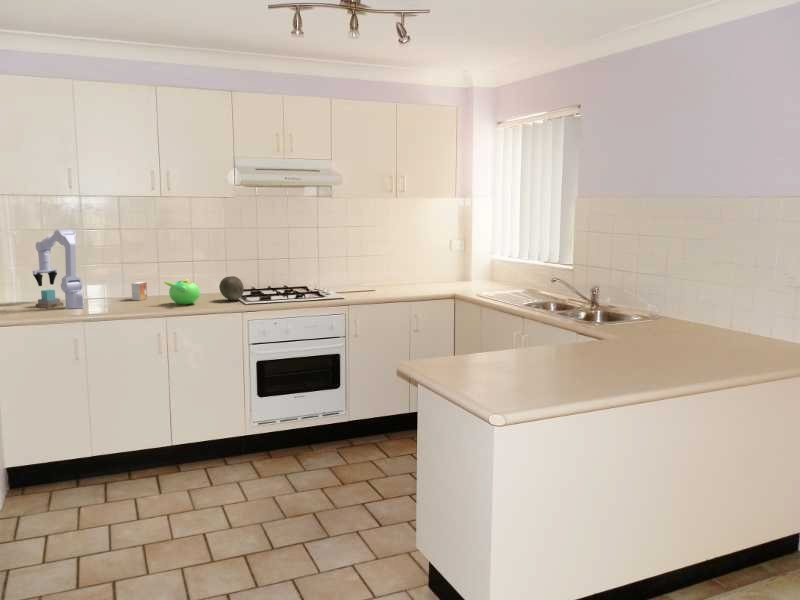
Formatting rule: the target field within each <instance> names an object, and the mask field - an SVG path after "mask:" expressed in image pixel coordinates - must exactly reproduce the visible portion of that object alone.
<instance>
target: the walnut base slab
mask: <svg viewBox="0 0 800 600" xmlns="http://www.w3.org/2000/svg"><path fill="white" fill-rule="evenodd" d="M63 306H64V302H61V301H60V303H57V304H51V305H44V304H38V303H35V308H42V309H43V308H44V309H51V308H57V307H63Z"/></svg>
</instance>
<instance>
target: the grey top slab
mask: <svg viewBox="0 0 800 600" xmlns="http://www.w3.org/2000/svg"><path fill="white" fill-rule="evenodd" d="M60 302H61V298H56V297H55V299H50V300H44V299H42V298H39V299H37V304H44V305H51V304H57V303H60Z"/></svg>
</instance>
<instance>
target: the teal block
mask: <svg viewBox="0 0 800 600" xmlns="http://www.w3.org/2000/svg"><path fill="white" fill-rule="evenodd" d="M40 295H41V299H44V300H50V299H55V298H56V290H55V289H42V290H40Z"/></svg>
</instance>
